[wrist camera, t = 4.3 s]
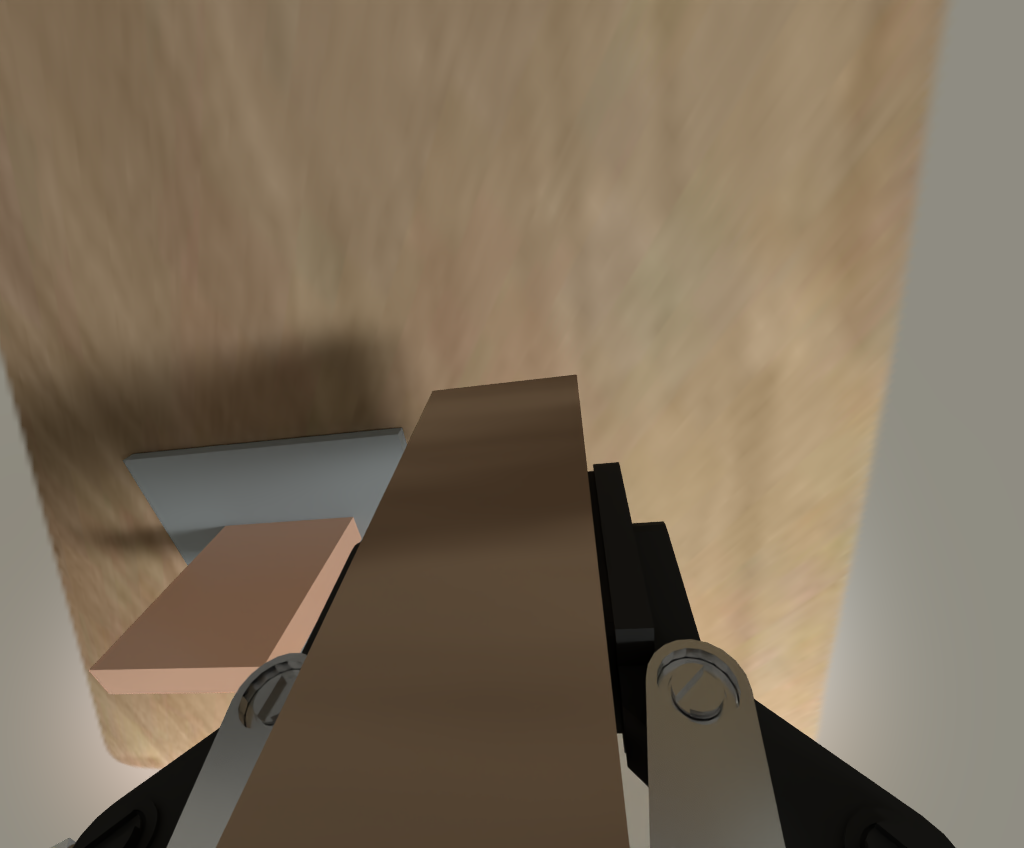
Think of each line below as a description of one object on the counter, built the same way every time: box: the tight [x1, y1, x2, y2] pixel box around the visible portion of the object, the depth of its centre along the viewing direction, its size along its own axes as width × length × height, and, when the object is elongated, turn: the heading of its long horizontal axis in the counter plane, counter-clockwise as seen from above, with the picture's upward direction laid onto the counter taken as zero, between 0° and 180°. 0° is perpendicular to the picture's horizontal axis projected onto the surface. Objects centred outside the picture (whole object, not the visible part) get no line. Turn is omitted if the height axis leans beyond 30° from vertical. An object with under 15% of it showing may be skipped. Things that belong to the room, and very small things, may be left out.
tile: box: [89, 517, 361, 694], centre depth 21 cm, size 2×7×8 cm, turn 99°
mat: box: [123, 428, 407, 653], centre depth 26 cm, size 16×14×1 cm
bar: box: [216, 375, 630, 848], centre depth 8 cm, size 5×4×11 cm
